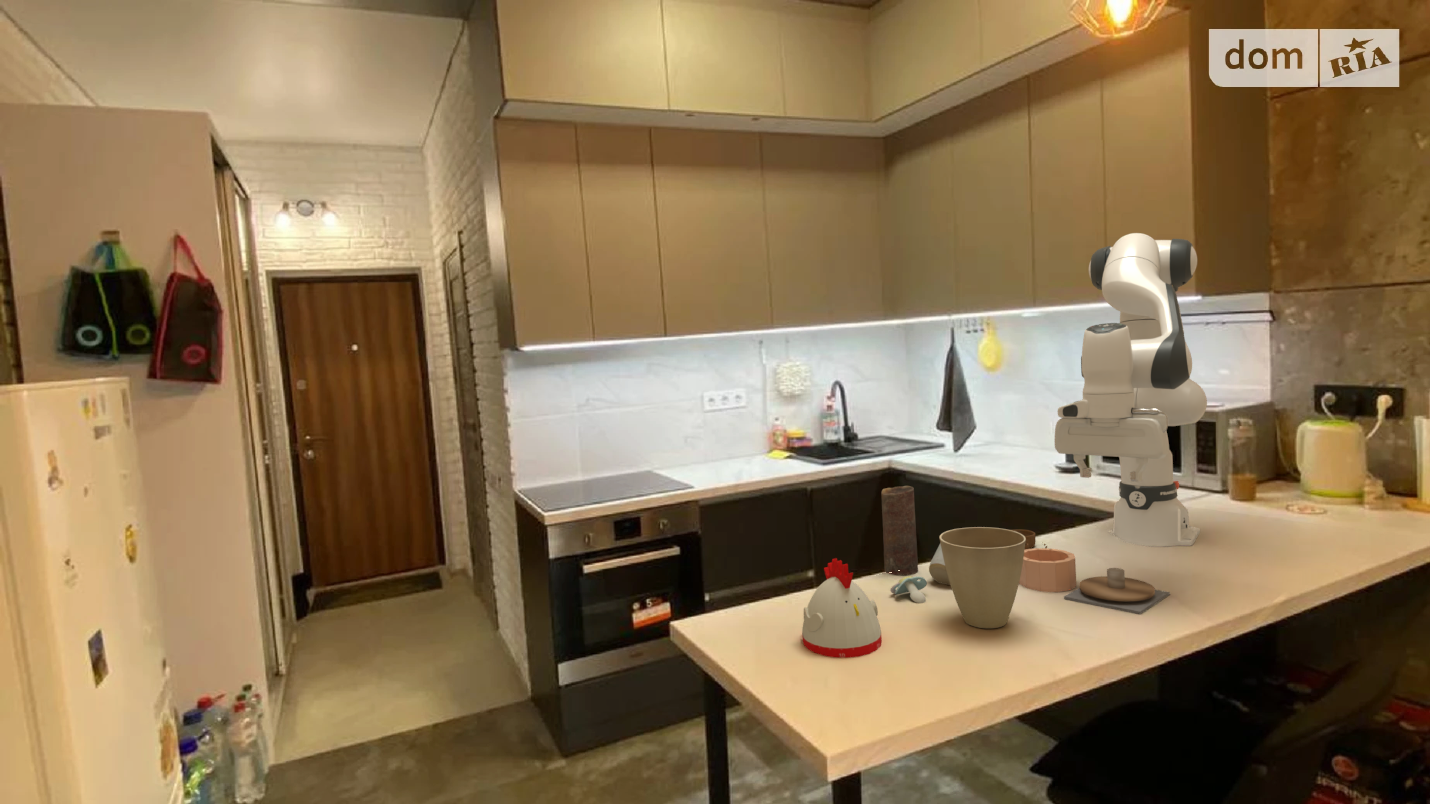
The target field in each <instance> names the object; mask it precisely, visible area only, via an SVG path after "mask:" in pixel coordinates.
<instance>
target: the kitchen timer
mask: <svg viewBox="0 0 1430 804" xmlns="http://www.w3.org/2000/svg"><path fill="white" fill-rule="evenodd" d="M823 571H824V575H825V578H826V579H825V580H824V581H823V582H822V583H821V584H820V585H819V586H818V587H817V588H816V590H815V591H814V592H813V594H812V596H811V597H810V600H809V602H808V605H807V607H806V606H805V607H803V624H802V631H801V636H802V642H803V646H804V647H805V648H806V649H807V650H809V651H811V652H812V653H815V654H818V655H821V656H824V657H830V658H839V659H840V658H845V659H846V658H847V659H849V658H850V659H851V658H856V657H857V658H858V657H862V656H863V657H864V656H866V655H867V656H868V655H870V654H872V653H875V652H876V651H877V650H878V649H880V648H881V646H882V642H883V641H882V640H883V639H882V628H881V626H880V621H879V618H878V616H879V615H878V614H879V611H878V606H877V602H876V601H875V600H874V599H871V600H870V599H869V597H868V596H867V593H865V591H864V590H863V589H862V588H861V587H860V585H858V584H857V583H855V582H854V581H853V575H854V572H850V573H849V564H848V563H845V564H843V561H842V560H841V559H840V560H838V558H837V557H835V558H832V560H831V562H828V563H827V567H823Z"/></svg>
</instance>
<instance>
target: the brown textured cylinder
mask: <svg viewBox="0 0 1430 804" xmlns="http://www.w3.org/2000/svg"><path fill="white" fill-rule="evenodd" d="M881 510H882V511H881V513H882V514H881V516H882V530H883V531H882V535H883V536H882V537H883V562H884V572H885V573H887V574H888V573H889V572H892V573H889V575H892V576H902V577H903V576H904V577H907V576H911V575H916V573H918V572H919V569H918V568H919V565H918V564H919V560H918V559H919V558H918V545H917V544H918V543H917V528H916V524H917V523H916V511H915V510H916V507H915V489H914V487H913V486H910V485H904V486H894V487H887V488H885V487H884V488H883V489H882V490H881ZM898 570H900V571H898Z"/></svg>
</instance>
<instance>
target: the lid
mask: <svg viewBox="0 0 1430 804" xmlns="http://www.w3.org/2000/svg"><path fill="white" fill-rule="evenodd" d="M1125 576H1126V575H1125V570H1124V569H1122V568H1121V567H1120V568H1117V567H1109V568H1107V569H1106V575H1105V576H1102V575H1101V576H1093V577H1088V578H1085V579H1083V580H1081V581H1079V587H1078V588H1080V590H1081V591H1082V592H1083V593H1085V594H1086V595H1089V596H1092V597H1095V598H1099V599H1104V600H1111V601H1141V600H1146V599H1149V598H1151V597H1153V596H1154V595H1155V590H1156V589H1155V587H1154V586H1153V585H1152V584H1150V583H1148V582H1146V581H1144V580H1141V579H1136V578H1130V577H1125Z"/></svg>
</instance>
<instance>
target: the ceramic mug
mask: <svg viewBox="0 0 1430 804" xmlns="http://www.w3.org/2000/svg"><path fill="white" fill-rule="evenodd" d="M928 572H929V574H930V576H931V577H932V578H933V580H934V581H936V582H937V583H940V584H944V585H948V586H951V584H950V581H949V578H948V574H947V571H946V567H945V563H944V558H943V553H942V548H941V543H939V545H938V547H937V549H936V551H935V552H934V555H933V557H932V559H931V561H930V564H929V566H928Z"/></svg>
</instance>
